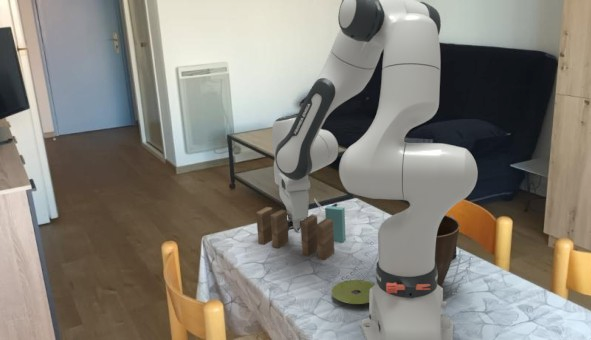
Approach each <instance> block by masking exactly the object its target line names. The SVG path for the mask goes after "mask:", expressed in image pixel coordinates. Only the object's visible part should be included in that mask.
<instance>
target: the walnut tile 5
mask: <svg viewBox="0 0 591 340" xmlns="http://www.w3.org/2000/svg"><path fill="white" fill-rule="evenodd" d="M316 227H317V247H318V250H317V259H318V260H321V261H326V260H327V259H328V258H330V257H331V256H333V255H334V254H335V241H334V233H333V219H328V218H326V219H324V220H323V221H321V222H320V223H318V224H316Z"/></svg>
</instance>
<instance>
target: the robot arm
mask: <svg viewBox="0 0 591 340" xmlns="http://www.w3.org/2000/svg"><path fill="white" fill-rule="evenodd" d="M337 18H338V21H337V22H338V25H339V28H340V29H339V31H338V33H337V36H336V37H335V39H334V41H333V44H332V46H331V48H330V52H329V54H328V57H327V59H326V61H325V63H324V65H323V67H322V70H321V71H320V74H319V75H318V77H317V79H316V80H315V82H314V83H313V85H312V86H311V88H310V90H309V92H308V93H307V95H306V97H305V99H304V101H303V103H302V105H301V107H300V109H299V112H298V113H297V114H290V115H286V116H282V117H278V118H277V119H276V120H274V122H273V124H272V131H271V141H272V142H271V143H272V145H271V146H272V152H273V156H274V162H273V170H274V171H273V172H274V173H273V174H274V175H273V176H274V183H275V184H276V185H278V192H279V193H278V194H279V198H280V200H281V201H282V203H283V204H284V206H285V208H286V211H287V220H289V221H292V224H293V229H294V230H296V229H298V228H299V229H301V226H300V220H302V219H303V220H304V219H306V218H307V217H309V203H310V201H309V199H310V197H309V196H310V195H309V190H310V189H311V181H310V179H309V174H311V173H314V172H316V171H318V170H321V169H322V168H324V167H326V166H329V165H330V164H332V163H334V162H335V161H336V160H337V158H338V156H339V153H340V150H339V149H340V147H339V143H338V140H337V138H336V136H335V135H334V134H333V133H332V132H331V131H329V130H327V129H323V128H322V127H323V125H324V123H325V121H326V120H327V118H328V117H329V115H330V114H331V113H332V112H333V111H334V110H335V109H337V108H338V107H339V106H340V105H342V104H343V103H345V102H347V101H348V100H350V99H351V98H353V97H355V96H357V95H358V94H360V93H361V92H362V91H363V90H364V89H365V87H366V86H367V84H368V83H369V82H370V81H371V78H372V77H373V74H374V72H375V70H376V67H377V65H378V63H379V61H380V58H381V54H382V53H383V57H382V69H381V84H380V92H379V93H380V94H379V101H378V106H377V110H376V115H375V117H374V119H373V121H372V123H371V124H370V126H369V127H368V129H367V130H366V132H365V133H364V134H363V135H362V136H361V137H360V138H359V139H358V140H357V141H356V142H354V143H353V144H351V145H350V146H349V147H347V149H346V150H345V151H344V153H343V154H342V156H341V158H340V161H339V166H338V174H339V179H340V182H341V183H342V186H343V188H344V189H345V190H346V191H347V192H348V193H349V194H352V195H356V196H358V197H359V196H361V197H364V198H368V199H374V200H375V199H379V200H399V201H401V200H402V201H406V202H408V203H409V207H407V208H406V209H404V210H402V211H401V212H396V213H394V214H393V215H391V216H389V217H387V218H386V219H385V220H384V221H383V222H382V223H381V224H380V225H379V228H378V230H377V231H378V232H377V242H378V243H377V245H378V246H377V248H378V250H377V251H378V255H377V256H378V259H377V262H376V268H375V276H376V282H375V283H374V284H375V285H374V286H373V287H372V288H371V289H370V293H369V302H368V303H369V307H368V308H369V310H368V312H369V315H368V316H369V317H367V318H364V319H362V320H360V329H361V332H362V334H363V337H364V339H365V340H454V322H453V320H451V317H450V316H448V315H447V314H444V313H443V309H447V306H448V305H447V303H448V302H447V301H446V300H443V299H444V297H443V296H444V288H443V287H442V286H439V285H438V284H437V278H438V272H437V265H436V263H435V246H436V237H437V231H438V228H439V225H440V223H441V221H442V219H443V217H444V216H445V215H447V213H448V212H449V211H450V210H451V209H452V208H454V206H455V205H457V204H458V203H460V202H461V201H463V200H465V199H466V198H468V196H469V195H470V194H471V193H472V191H473V190H474V188H475V187H476V184H477V181H478V176H479V175H478V173H479V171H478V166H477V163H476V160H475V158H474V156H473V155H472V153H471V152H470V151H469V150H468V149H467V148H465V147H461V146H458V145H457V146H456V145H452V144H448V143H441V142H440V143H439V142H437V143H436V142H407V141H405V138H406V135H407V134H408V133H409V131H411V130H412V129H413V128H415V127H418V126H420V125H422V124H424V123H427V121H430V120H431V119H433V117H434V116H435V115H436V114H437V111H438V109H439V107H440V106H439V105H440V86H441V46H440V36H439V35H440V33H441V28H442V27H441V26H442V24H441V22H442V21H441V16H440V13H439V11H438V10H437V9H436V8H435V7H433V6H432V5H430V4H429V3H426V2H424V1H418V0H341V3H340V6H339V10H338V17H337ZM299 229H298V230H299Z"/></svg>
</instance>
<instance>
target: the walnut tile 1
mask: <svg viewBox="0 0 591 340" xmlns="http://www.w3.org/2000/svg"><path fill="white" fill-rule="evenodd" d="M273 209H274V208H273V207H271V206H270V207H268V206H266V207H263V208H262V209H260V210H258V211H256V212H255V215H256V228H257V229H256V230H257V241H258V245H263V246H265V245H266V244H268V243H270V242H271V241H272V231H271V217H270V215H272V214H274V210H273Z"/></svg>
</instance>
